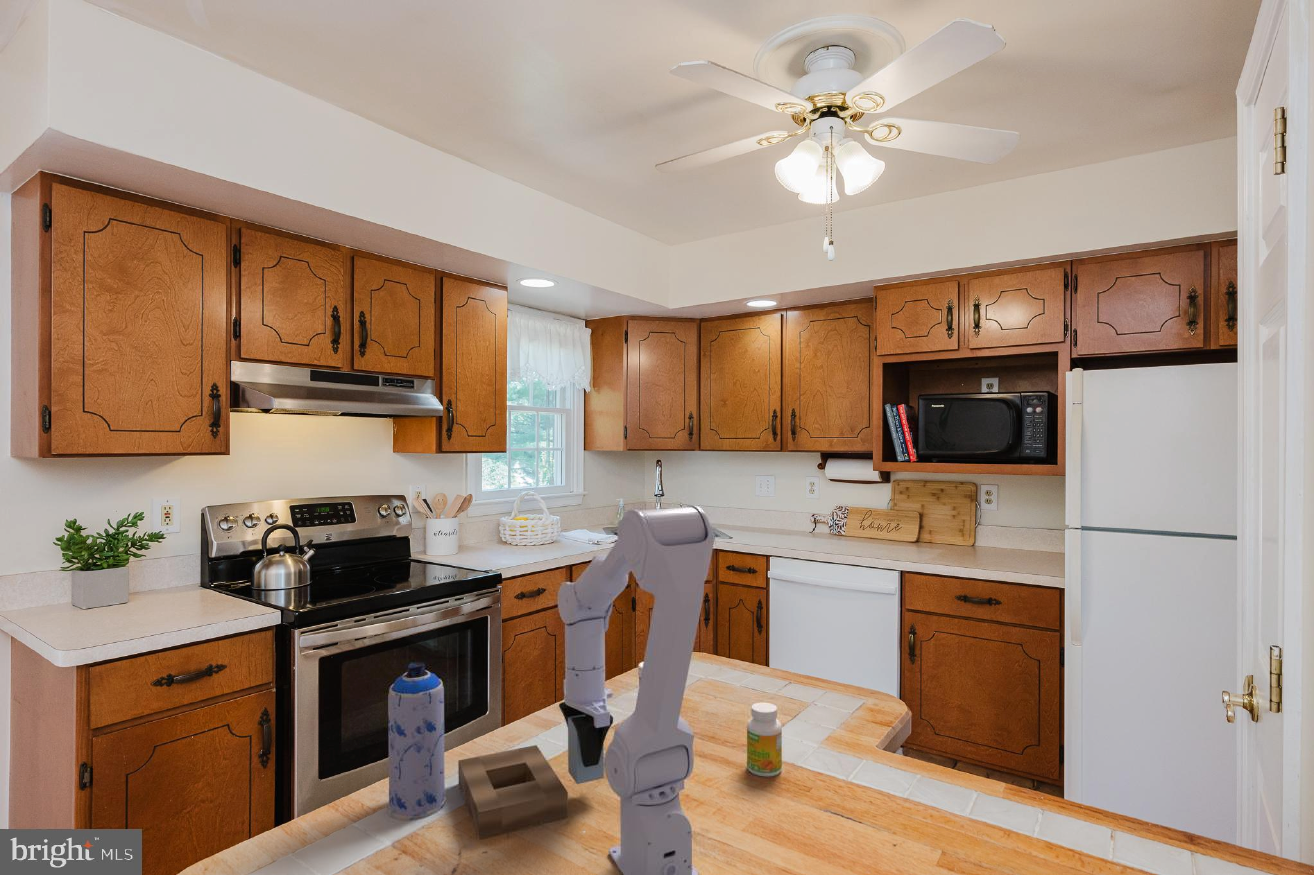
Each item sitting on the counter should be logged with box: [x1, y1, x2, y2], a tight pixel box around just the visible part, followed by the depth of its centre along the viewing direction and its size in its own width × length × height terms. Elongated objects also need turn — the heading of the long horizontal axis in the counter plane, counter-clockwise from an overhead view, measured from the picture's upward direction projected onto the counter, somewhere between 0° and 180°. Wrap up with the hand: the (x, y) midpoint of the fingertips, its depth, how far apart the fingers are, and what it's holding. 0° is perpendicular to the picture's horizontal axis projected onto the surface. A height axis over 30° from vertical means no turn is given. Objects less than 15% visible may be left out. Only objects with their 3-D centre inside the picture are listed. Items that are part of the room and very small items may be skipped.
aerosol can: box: [387, 661, 447, 821], centre depth 100 cm, size 8×8×20 cm
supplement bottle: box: [746, 702, 783, 777], centre depth 110 cm, size 5×5×10 cm
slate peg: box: [567, 714, 605, 785], centre depth 101 cm, size 4×4×8 cm
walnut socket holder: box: [457, 744, 569, 840], centre depth 101 cm, size 16×12×4 cm
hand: (585, 758), depth 101 cm, fingers closed on slate peg, 4 cm apart
